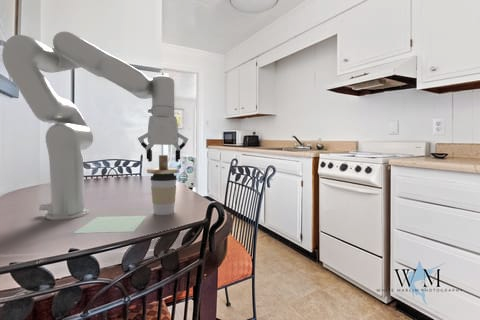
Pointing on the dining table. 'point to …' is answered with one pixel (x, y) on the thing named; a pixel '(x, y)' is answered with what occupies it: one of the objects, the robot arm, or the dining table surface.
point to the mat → (112, 224)
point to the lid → (163, 167)
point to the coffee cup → (163, 193)
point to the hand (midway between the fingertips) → (163, 161)
